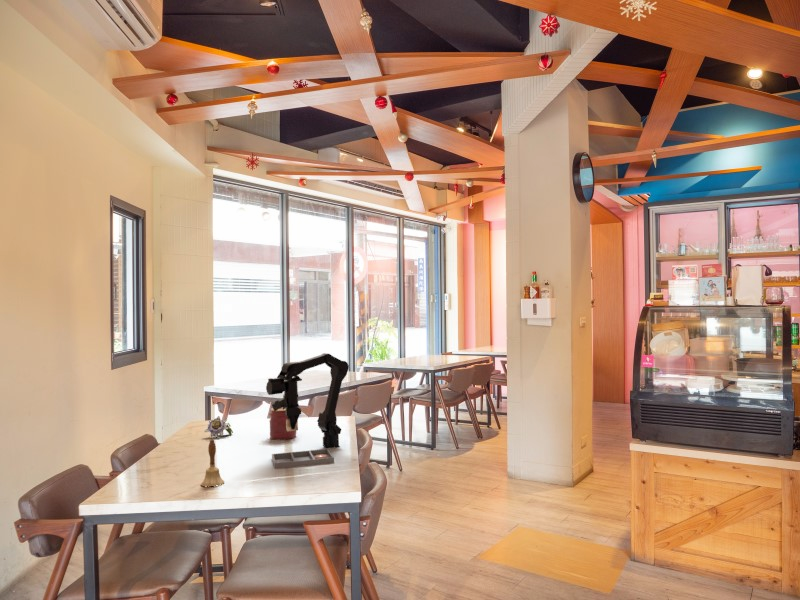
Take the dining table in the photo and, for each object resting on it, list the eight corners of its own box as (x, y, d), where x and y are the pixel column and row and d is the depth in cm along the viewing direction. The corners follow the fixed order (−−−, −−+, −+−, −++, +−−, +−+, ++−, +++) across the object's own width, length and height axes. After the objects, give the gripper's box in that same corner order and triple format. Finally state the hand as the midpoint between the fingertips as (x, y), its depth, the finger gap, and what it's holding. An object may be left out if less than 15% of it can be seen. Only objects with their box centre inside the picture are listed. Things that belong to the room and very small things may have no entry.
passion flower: (216, 448, 292) (201, 430, 289) (218, 439, 302) (204, 422, 299) (235, 435, 292) (219, 417, 289) (236, 426, 303) (222, 409, 300)
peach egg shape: (326, 456, 243) (326, 454, 243) (327, 459, 238) (327, 456, 239) (314, 457, 242) (314, 455, 242) (315, 460, 237) (315, 457, 237)
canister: (300, 434, 293) (299, 399, 293) (291, 440, 280) (290, 403, 281) (275, 434, 295) (274, 399, 296) (265, 440, 283) (264, 403, 283)
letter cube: (296, 428, 254) (296, 417, 254) (297, 430, 250) (297, 419, 250) (286, 429, 253) (286, 418, 253) (287, 431, 249) (287, 420, 249)
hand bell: (229, 481, 214) (228, 437, 214) (215, 488, 206) (213, 442, 206) (210, 480, 216) (209, 437, 217) (195, 486, 208) (194, 442, 209)
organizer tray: (327, 454, 249) (327, 448, 249) (334, 463, 234) (333, 457, 234) (272, 460, 243) (271, 454, 243) (274, 469, 227) (274, 463, 227)
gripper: (270, 390, 258) (271, 426, 258) (273, 396, 241) (274, 434, 240) (295, 388, 262) (296, 423, 261) (300, 394, 244) (302, 431, 243)
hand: (292, 428), depth 252 cm, fingers closed on letter cube, 4 cm apart
